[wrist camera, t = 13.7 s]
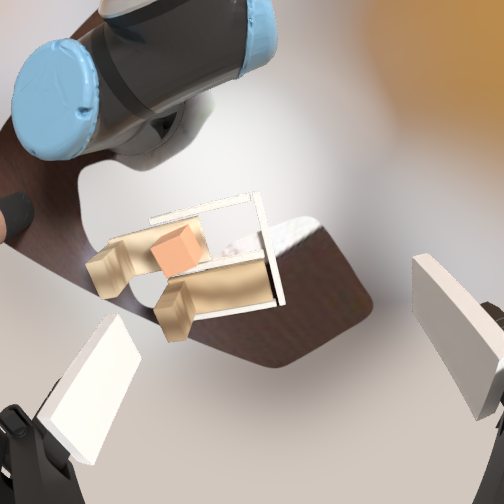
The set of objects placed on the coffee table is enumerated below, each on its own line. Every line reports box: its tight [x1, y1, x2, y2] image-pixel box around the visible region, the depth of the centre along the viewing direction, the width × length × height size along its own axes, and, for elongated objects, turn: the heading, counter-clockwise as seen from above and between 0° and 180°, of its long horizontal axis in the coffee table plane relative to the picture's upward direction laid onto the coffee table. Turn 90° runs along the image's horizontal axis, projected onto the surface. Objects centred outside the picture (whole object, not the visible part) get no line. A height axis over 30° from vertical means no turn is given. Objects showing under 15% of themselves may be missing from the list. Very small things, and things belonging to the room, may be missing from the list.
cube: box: [150, 224, 203, 278], centre depth 46 cm, size 5×5×5 cm
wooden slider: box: [86, 216, 211, 300], centre depth 45 cm, size 7×16×9 cm, turn 104°
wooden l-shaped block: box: [153, 259, 273, 342], centre depth 48 cm, size 7×16×9 cm, turn 104°
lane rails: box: [149, 191, 286, 320], centre depth 50 cm, size 19×18×1 cm
